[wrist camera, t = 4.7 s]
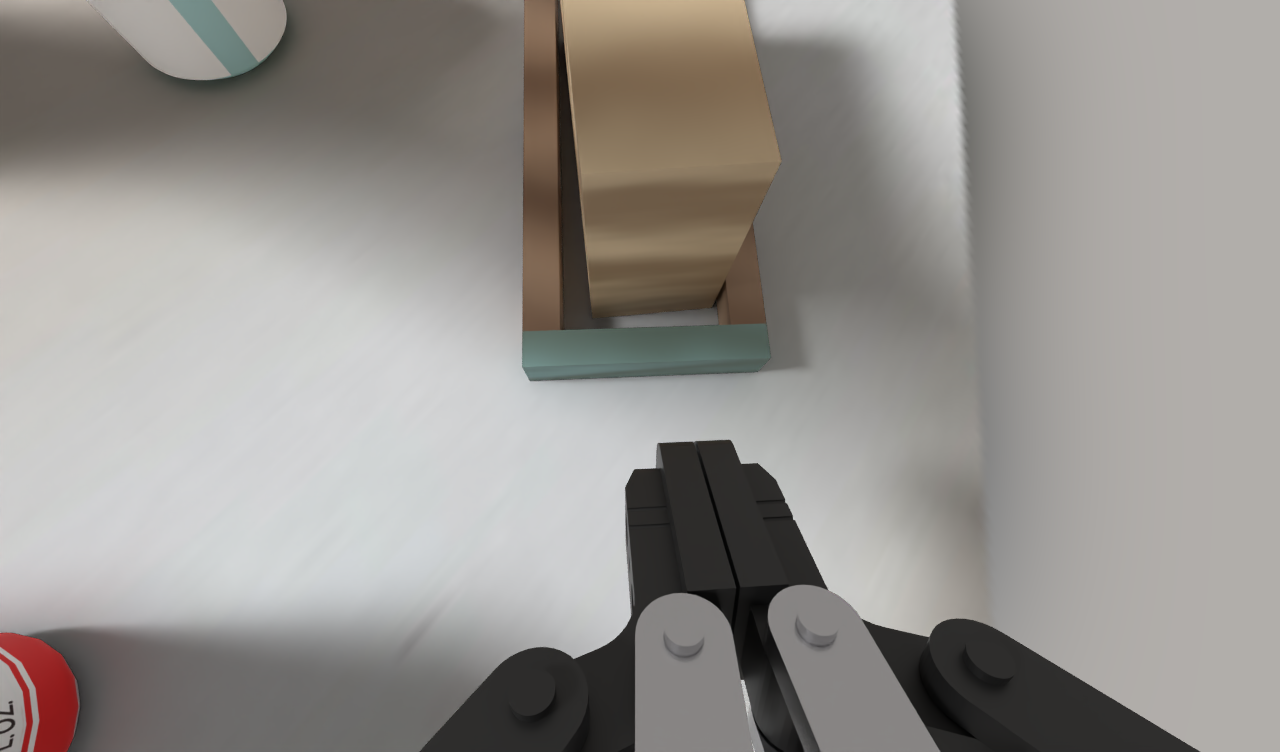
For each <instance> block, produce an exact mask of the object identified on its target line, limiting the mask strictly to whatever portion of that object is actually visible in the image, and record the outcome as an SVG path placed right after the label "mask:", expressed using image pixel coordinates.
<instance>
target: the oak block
mask: <svg viewBox="0 0 1280 752" xmlns="http://www.w3.org/2000/svg"><path fill="white" fill-rule="evenodd" d="M560 6H561V16H562V27H563V38H564V48H565V58H566V68H567V78H568V87H569V97H570V107H571V116H572V126H573V136H574V145H575V155H576V165H577V175H578V184H579V194H580V204H581V213H582V223H583V233H584V243H585V252H586V262H587V272H588V281H589V291H590V301H591V311H592V318H603V317H614V316H625V315H636V314H648V313H659V312H670V311H681V310H692V309H704V308H712V306H713V304H714V302H715V300H716V298H717V296H718V293H719V291H720V289H721V287H722V285H723V283H724V281H725V279H726V277H727V275H728V273H729V270H730V268H731V266H732V264H733V262H734V260H735V258H736V256H737V254H738V252H739V250H740V247H741V245H742V243H743V241H744V239H745V237H746V235H747V233H748V231H749V229H750V227H751V224H752V222H753V220H754V218H755V216H756V214H757V212H758V210H759V208H760V206H761V204H762V202H763V199H764V197H765V195H766V193H767V191H768V189H769V187H770V185H771V183H772V181H773V179H774V176H775V174H776V172H777V170H778V168H779V166H780V164H781V162H782V161H781V156H780V152H779V148H778V144H777V139H776V135H775V131H774V126H773V122H772V118H771V113H770V109H769V105H768V100H767V96H766V92H765V87H764V83H763V79H762V75H761V70H760V66H759V62H758V57H757V53H756V49H755V44H754V40H753V36H752V31H751V27H750V23H749V18H748V14H747V10H746V6H745V1H744V0H560Z"/></svg>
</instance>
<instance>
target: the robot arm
mask: <svg viewBox="0 0 1280 752" xmlns="http://www.w3.org/2000/svg"><path fill="white" fill-rule="evenodd" d="M625 510H626V551H627V564H628V578H629V591H630V604H631V619H630V620H629V622H628V624H627V626H626V627H625V629H624V630H623V631H622V632H621V633H620V634H619V635H618V636H617V637H616V638H615V639H614V640H613V641H611V642H610V643H608V644H607V645H605V646H603V647H601V648H599V649H597V650H594V651H592V652H590V653H587V654H585V655H583V656H580V657H578V658H575V659H573V658H572V657H571V656H569V655H568V654H566V653H564V652H562V651H560V650H557V649H554V648H547V647H537V648H531V649H527V650H524V651H521V652H519V653H517V654H515V655H513V656H511V657H509V658H508V659H507V660H505V661H504V662H502V663H501V664H500V665H499V666H498V667H497V668H496V669H495V670H494V671H493V672H492V673H491V674H490V676H489V677H488V678H487V679H486V680H485V681H484V682H483V683H482V684H481V685H480V686H479V688H478V689H477V690H476V691H475V692H474V693H473V694H472V695H471V696H470V697H469V698H468V699H467V701H466V702H465V703H464V704H463V705H462V706H461V707H460V708H459V709H458V710H457V711H456V713H455V714H454V715H453V716H452V717H451V718H450V719H449V720H448V721H447V722H446V723H445V724H444V726H443V727H442V728H441V729H440V730H439V731H438V732H437V733H436V734H435V735H434V736H433V738H432V739H431V740H430V741H429V742H428V743H427V744H426V745H425V746H424V747H423V748H422V750H421V751H420V752H753V747H754V750H755V752H1199V751H1198V750H1196V749H1195V748H1193V747H1191V746H1190V745H1188V744H1186V743H1185V742H1183V741H1181V740H1180V739H1178V738H1176V737H1175V736H1173V735H1171V734H1170V733H1168V732H1166V731H1164V730H1163V729H1161V728H1160V727H1158V726H1156V725H1155V724H1153V723H1151V722H1150V721H1148V720H1146V719H1145V718H1143V717H1141V716H1140V715H1138V714H1137V713H1135V712H1133V711H1132V710H1130V709H1128V708H1126V707H1125V706H1123V705H1121V704H1120V703H1118V702H1117V701H1115V700H1113V699H1112V698H1110V697H1108V696H1106V695H1105V694H1103V693H1102V692H1100V691H1098V690H1097V689H1095V688H1093V687H1092V686H1090V685H1088V684H1087V683H1085V682H1083V681H1082V680H1080V679H1078V678H1077V677H1075V676H1073V675H1072V674H1070V673H1068V672H1067V671H1065V670H1063V669H1061V668H1060V667H1058V666H1057V665H1055V664H1054V663H1052V662H1050V661H1048V660H1047V659H1045V658H1043V657H1042V656H1040V655H1039V654H1037V653H1035V652H1034V651H1032V650H1030V649H1029V648H1027V647H1025V646H1024V645H1022V644H1020V643H1019V642H1017V641H1015V640H1014V639H1012V638H1010V637H1009V636H1007V635H1005V634H1004V633H1002V632H1000V631H998V630H996V629H995V628H993V627H990V626H988V625H986V624H983V623H980V622H977V621H973V620H968V619H949V620H946V621H943V622H941V623H940V624H938V625H937V626H936V627H935V628H934V629H933V631H932V633H931V635H930V637H925V636H920V635H916V634H912V633H907V632H903V631H898V630H894V629H890V628H885V627H882V626H878V625H875V624H872V623H870V622H867V621H865V620H863V619H861V618H860V616H859V615H858V613H857V612H856V611H855V610H854V609H853V608H852V606H851V605H850V604H848V603H847V602H846V601H845V600H844V599H842V598H841V597H839V596H838V595H836V594H835V593H833V592H831V591H829V590H828V588H827V586H826V585H825V583H824V581H823V579H822V576H821V574H820V572H819V570H818V568H817V566H816V564H815V562H814V560H813V557H812V555H811V553H810V551H809V549H808V547H807V545H806V543H805V541H804V538H803V536H802V534H801V532H800V530H799V528H798V526H797V524H796V522H795V520H793V515H792V513H791V511H790V509H789V507H788V505H787V503H785V498H784V496H783V494H782V492H781V490H780V488H779V486H778V484H777V481H776V480H775V479H774V478H773V477H772V476H771V475H770V474H769V473H768V472H767V471H766V470H764V469H763V468H762V467H761V466H760V465H759V464H758V463H753V464H741V463H740V460H739V458H738V455H737V453H736V450H735V448H734V445H733V443H732V442H731V440H715V441H695V442H694V443H693V442H673V443H658V444H657V454H656V468H653V469H634V471H633V473H632V475H631V477H630V479H629V481H628V483H627V485H626V487H625ZM741 680H744V681H745V685H746V689H747V693H748V696H749V700H750V706H749V711H748V718H747V713H746V707H745V701H744V696H743V690H742V684H741ZM751 740H752V741H751ZM752 743H753V746H752Z"/></svg>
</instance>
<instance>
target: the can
mask: <svg viewBox="0 0 1280 752" xmlns="http://www.w3.org/2000/svg"><path fill="white" fill-rule="evenodd" d="M86 1H87V2H88V3H89V4H90V5H91V6H92V7H93V8H94V9H95V10H96V11H97V12H98V13H99V14H100V15H101V16H102V17H103V18H104V19H105V20H106V21H107V22H108V23H109V24H110V25H111V26H112V27H113V28H114V29H115V30H116V31H117V32H118V33H119V34H120V35H121V36H122V37H123V38H124V39H125V40H126V41H127V42H128V43H129V44H130V45H131V46H132V47H133V48H134V49H135V50H136V51H137V52H138V53H139V54H140V55H141V56H142V57H143V58H144V59H145V60H146V61H147V62H148V63H149V64H150V65H152V66H153V67H154V68H156V69H158V70H159V71H161V72H163V73H165V74H168V75H171V76H174V77H178V78H182V79H190V80H215V79H224V78H230V77H234V76H238V75H241V74H243V73H246V72H248V71H250V70H252V69H254V68H255V67H257V66H258V65H260V64H261V63H262V62H263V61H264V60H266V59H267V57H268V56H269V55H270V54H271V53H272V52H273V50H274V49H275V48H276V46H277V45H278V43H279V42H280V40H281V38H282V36H283V33H284V30H285V27H286V21H287V14H286V8H285V5H284V2H283V0H86Z"/></svg>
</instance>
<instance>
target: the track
mask: <svg viewBox="0 0 1280 752" xmlns="http://www.w3.org/2000/svg"><path fill="white" fill-rule="evenodd" d="M716 303H717V312H718V322H719V325H704V326H673V327H642V328H611V329H580V330H564V304H563V249H562V193H561V138H560V83H559V28H558V0H524V160H523V333H522V367H523V369H524V371H525V373H526V375H527V377H528V378H529V380H530V381H536V380H561V379H587V378H612V377H638V376H663V375H689V374H714V373H740V372H758V370H759V369H760V368H761V367H762V366H763V365H764V364H765V363H766V362H767V361H768V360H769V359H770V358H771V355H770V347H769V340H768V332H767V325H766V318H765V310H764V303H763V295H762V288H761V281H760V273H759V266H758V258H757V251H756V244H755V236H754V229H753V222H752V224H751V227H750V229H749V231H748V233H747V235H746V237H745V239H744V241H743V243H742V245H741V247H740V250H739V252H738V254H737V256H736V258H735V260H734V262H733V264H732V266H731V268H730V270H729V273H728V275H727V277H726V279H725V281H724V283H723V285H722V287H721V289H720V291H719V293H718V296H717V298H716Z"/></svg>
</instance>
